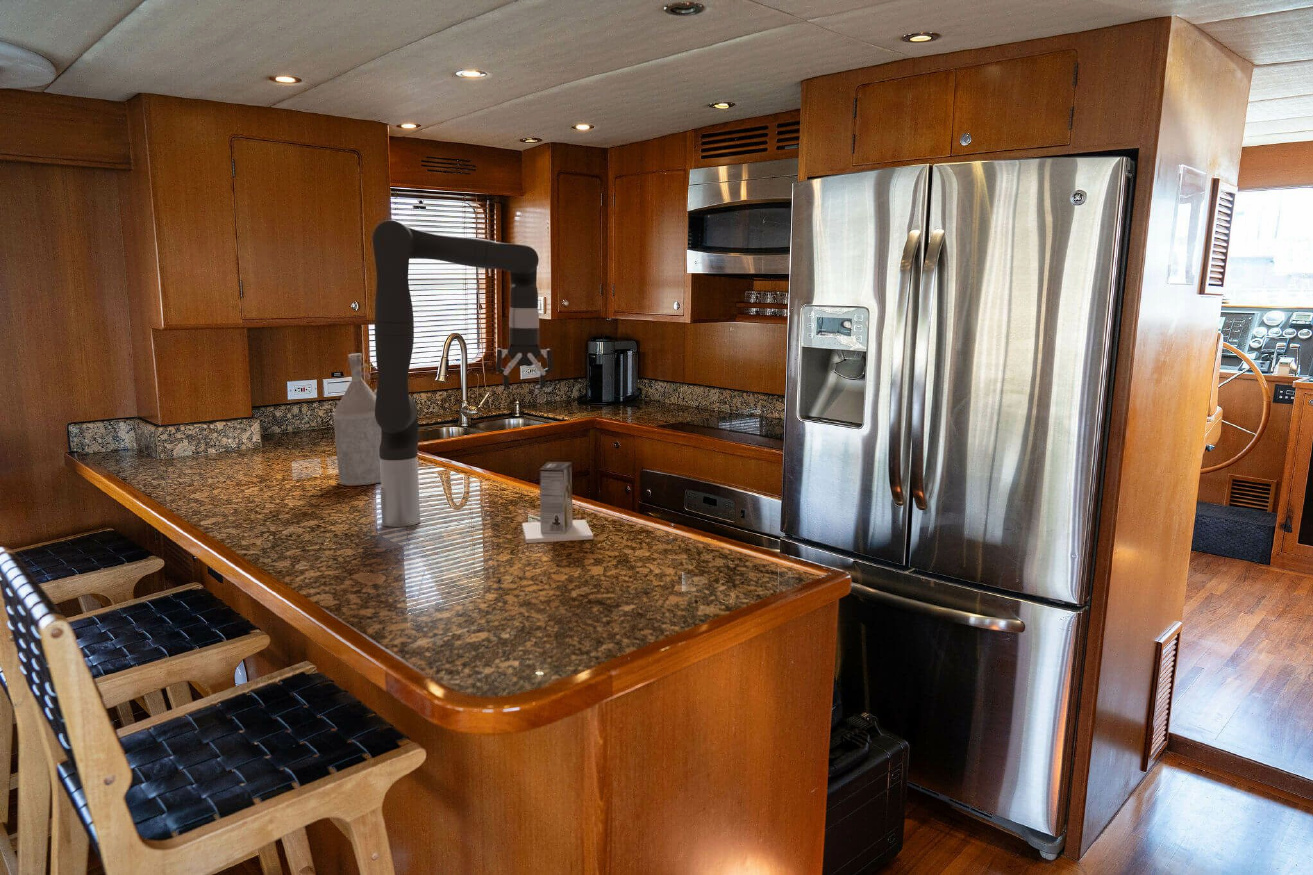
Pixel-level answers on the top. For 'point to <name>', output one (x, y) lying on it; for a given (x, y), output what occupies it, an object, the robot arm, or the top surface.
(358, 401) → the grey bottle
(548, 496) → the coffee box
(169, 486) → the top surface
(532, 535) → the mat
